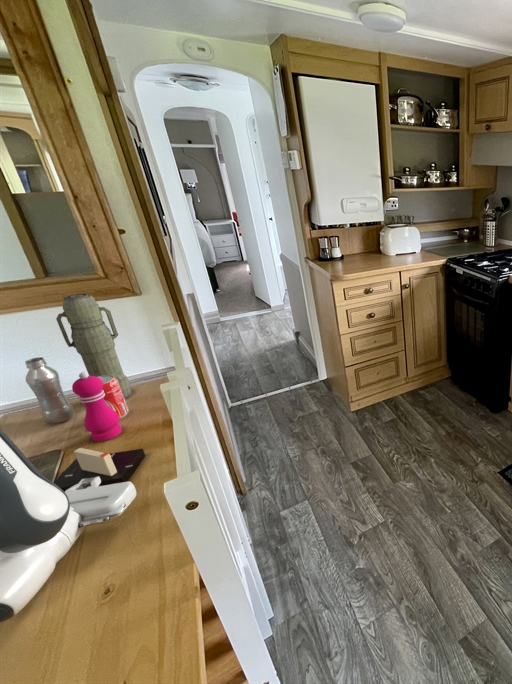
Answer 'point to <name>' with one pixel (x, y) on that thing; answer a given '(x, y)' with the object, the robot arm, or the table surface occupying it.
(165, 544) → the table surface
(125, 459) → the panel
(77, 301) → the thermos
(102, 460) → the cream block red end
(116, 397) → the soda can
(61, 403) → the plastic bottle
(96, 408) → the pepper mill
